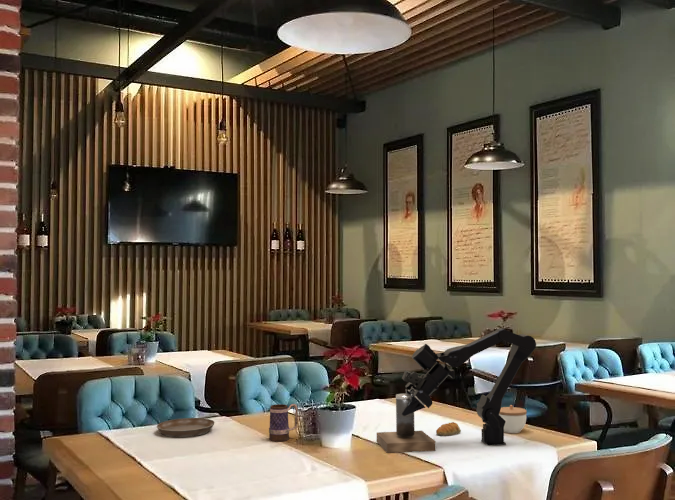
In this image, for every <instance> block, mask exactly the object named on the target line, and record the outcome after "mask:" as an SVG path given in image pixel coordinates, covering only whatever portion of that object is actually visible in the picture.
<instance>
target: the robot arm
mask: <svg viewBox="0 0 675 500" xmlns="http://www.w3.org/2000/svg"><path fill="white" fill-rule="evenodd" d="M502 342H505V343H508V344H511V347H510V352H509V357H508V359H507V360H506V363H505V364H504V366H503V368H502V370H501V371H500V373H499V375H498V377H497V379H496V381H495V383H494V385H493V386H492V388H491V390H490V392H489V393H488V394H487V395H484V394H481V396H480V398H479V401H478V402H477V403H476V414H477V415H478V417H479V418H481V420H482V423H483V424H482V428H481V443H483V444H484V445H486V446H502V445H503V446H504V445H505V446H506V445H507V443H506V442H505V432H504V425H505V422H506V421H505V420H504V419H503V418H502V417H501V416H500V415H499V413H500V410H501V407H502V405H503V398H504V397H505V395H506V393H507V391H508V389H509V387H510V386H511V385H512V382H513V380H514V378H515V376H516V374H517V373H518V370H519V369H520V368H521V366H522V364H523V363H524V361H526V360H527V359H528V358H529V357H531V355H532V353H533V352H534V351H535V350H536V348H537V342H536V340H535V338H534V337H533V336H531V335H528V334H524V333H520V334H519V333H518V334H517V333H514V332H512V331H508V330H507V329H505V328H501V327H500V328H496V330H494V331H491V332H489V333H487V334H485V335H484V336H481V337H479V338H478V339H476V340H473V341H471V342H469V343H467V344H463V345H458V346H453V347H451V348H448V349H446V350H444V351H443V352H438V353H436V352H435V351H434V350H433V349H432V348H431V347H430V345H429V344H428V343H424V344H423V345H422V346H420V347H419V348H417V349H416V350H415V351H414V352H413V354H412V355H411V359H413V361H415V363H417V364H418V365H419V367H421V369H423V370H426V369H427V370H428V371H427V372H426V374H424V373H423V374H421V375H420V376H419V373H417V372H415V371H412V372H411V371H408V370H406V369H405V370H404V372H403V375H402V377H401V379H402V380H403V381H404V382H406V384H405V394H411V401H410V402H409V404H408V405H407V407H406V408H405V409H404V411H403V413H402V415H403V416H406V415H408V414H410V413H413V412H414V413H415V412H418V411H421V410H422V409H426V408H428V409H429V408H430V407H431V406H432V405H433V399H432V398H431V395H432V394H433V392H435V391H437V390H439V389H440V388H439V386H440V385H441V384H442V383H443V382H444V381H445V380H446V378H448V377H450V378H451V379H453V380H454V379H455V378H456V377H455V371H456V370H454V369H450V368H449V367H451V368H458V367H461V366H462V365H464V364H465V363H466V362H467V361H468V360H470V359H471V358H472V357H473V356H475V355H478V354H479V353H482V352H483V351H486V350H487V349H489V348H492V347H494V346H496V345H498V344H500V343H502ZM439 361H440V362H441V363H443V364H441V363H440V362H439ZM444 363H445V364H444ZM448 366H449V367H448ZM412 394H413V395H414V396H413V395H412Z"/></svg>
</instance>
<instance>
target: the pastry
mask: <svg viewBox="0 0 675 500" xmlns="http://www.w3.org/2000/svg"><path fill="white" fill-rule="evenodd" d="M435 431H436V432H435V433H436V435H437V436H438V435H439V436H443V437H449V436H450V437H451V436H455V435H459V434H460V433H461V432H462V430H461V428H460V426H459V424H458V423H456V422H455V421H453V422H447V423H444V424H441V425H440V426H439V427H438V428H437V429H436V430H435Z"/></svg>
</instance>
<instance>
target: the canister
mask: <svg viewBox="0 0 675 500" xmlns="http://www.w3.org/2000/svg"><path fill="white" fill-rule="evenodd" d="M412 395H413V394H412ZM413 396H414V395H413ZM410 401H411V394H406V393H396V394H395V420H396V421H395V425H396V431H395V432H396V434H397V435H398V436H413V435H415V431H416V430H415V412H413V413H410V414H408V415H406V416H403V415H402V413H403V411H404V409H405V408H406V407H407V405H408V404H409V402H410Z"/></svg>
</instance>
